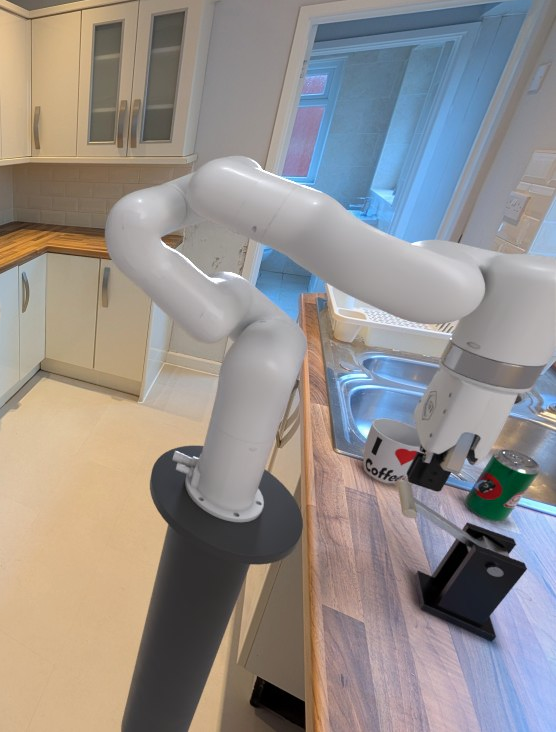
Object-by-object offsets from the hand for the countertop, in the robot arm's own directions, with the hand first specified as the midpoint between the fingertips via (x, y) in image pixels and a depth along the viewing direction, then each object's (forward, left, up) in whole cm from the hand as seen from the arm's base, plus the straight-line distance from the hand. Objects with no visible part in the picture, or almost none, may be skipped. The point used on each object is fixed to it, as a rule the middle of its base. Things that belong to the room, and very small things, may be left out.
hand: (422, 483), depth 56 cm
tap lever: (+4, 0, -6) cm, 8 cm away
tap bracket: (+9, 0, -18) cm, 20 cm away
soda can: (+17, +25, -18) cm, 35 cm away
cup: (+3, +26, -18) cm, 32 cm away
